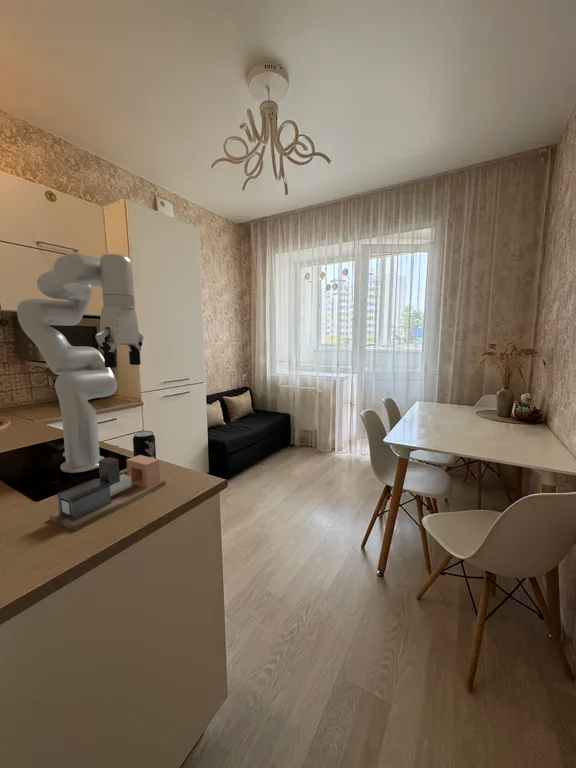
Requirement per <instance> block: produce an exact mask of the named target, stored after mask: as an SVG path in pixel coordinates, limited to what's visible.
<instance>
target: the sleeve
mask: <svg viewBox="0 0 576 768" xmlns="http://www.w3.org/2000/svg"><path fill="white" fill-rule="evenodd" d="M56 494H57V505H58V511H59V515H60V516H63V517H65V518H67V519H69V520H72V521H76V520H78V519H80V518H82V517H84V516H87V515H89V514H91V513H93V512H95V511H97V510H99V509H101V508H103V507H105V506H107V505H109V504H111V494H110V483H107V482H104V481H101V480H100V479H98V478H93V479H90V480H88V481H85V482H83V483H80V484H77V485H76V486H73V487H70V488H67V489H65V490H62V491H60V492H58V493H56ZM62 499H65V500H67V501H70V510H71V515H69V514H66V513H64V512H62V503H61V500H62Z"/></svg>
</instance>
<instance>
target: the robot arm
mask: <svg viewBox="0 0 576 768" xmlns="http://www.w3.org/2000/svg"><path fill="white" fill-rule="evenodd" d="M133 279H134V277H133V266H132V261H131V259H130V258H129V257H127V256H125V255H122V254H118V253H116V254H115V253H107V254H106V253H105V254H103V255H101V256H100V258H98V257H94V256H90V255H85V254H79V253H68V254H64V255H61V256H59V257H56V259H55V261H54V264H53V267H52V270H49V271H46V272H43V273H41V274H40V275H39V276H38V278H37V280H36V285H37V288H38V290H39V291H40V292H41V293H42V294H43V295H45V297H48V298H52V299H45V298H28V299H24V300H21V302H19V304H17V307H16V315H17V320H18V322H19V326H20V328H21V329H22V331H23V332H24V333H25V334H26V336H27V337H28V338H29V339H30V340H31V341H32V342H33V343H34V344H35V346H36V347H37V349H38V350H39V352H40V354H41V356H42V357H43V360H44V361H45V363H46V365H47V366H48V369H50V371H51V372H52V373H53V374H55V375H58V376H57V377H56V379H55V382H54V388H55V392H56V396H57V398H58V403H59V406H60V413H61V422H62V423H61V424H62V433H63V434H62V435H63V441H64V442H63V443H64V445H63V446H64V452H63V453H62V456H63V457H65V461H64V462H63V463H61V464H60V470H61V471H62V472H64V473H69V474H73V473H74V474H75V473H77V474H78V473H82V472H84V473H85V472H88V471H92V470H95V469H99V462H98V461H100V460H103V459H105V457H104V456H102V455H100V443H99V442H100V440H99V429H98V416H97V411H96V409H95V408H94V406H92V405H91V404H90V403H89V400H92V399H97V398H105V397H110V396H112V395H114V394H115V393H116V391H117V389H118V381H117V378H116V375H115V374H114V372H113V370H112V368H113V369H115V368H117V367H118V364H117V363H118V362H117V361H118V360H117V352H115V349H116V348H117V347H118V346H125V345H126V346H127V347H128V349H129V350H128V357H129V364H130V365H132V366H138V365H139V366H140V365H141V351H142V346H143V341H144V336H143V334H142V333H140V332H139V323H138V317H137V314H136V313H137V312H136V309H135V294H134V280H133ZM92 286H94V287H100V288H101V291H102V293H101V294H102V302H103V303H102V304H103V306H101V311H100V319H99V332H98V333H96V334H95V339H96V342H97V343H98V347H99V348H100V349H101V352H102V353H103V354H102V353H101V352H100V350H98V349H97V348H95V347H92V346H85V345H83V346H82V345H81V346H77V345H76V346H73V345H72V344H70V342H69V341H68V340H67V338H66V336H65V335H64V334H63V333H61V332H60V331H59V330H58V329H55V328H54V327H52V326H64V327H65V326H67V327H68V326H69V327H70V326H71V327H73V326H76V325H78V324H79V323H80V322H81V321H82V319H83V316H84V314H85V311H86V309H87V307H88V305H89V302H90V300H91V297H92V292H93V291H92ZM54 299H55V300H54ZM65 300H66V301H65ZM117 345H118V346H117Z"/></svg>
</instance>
